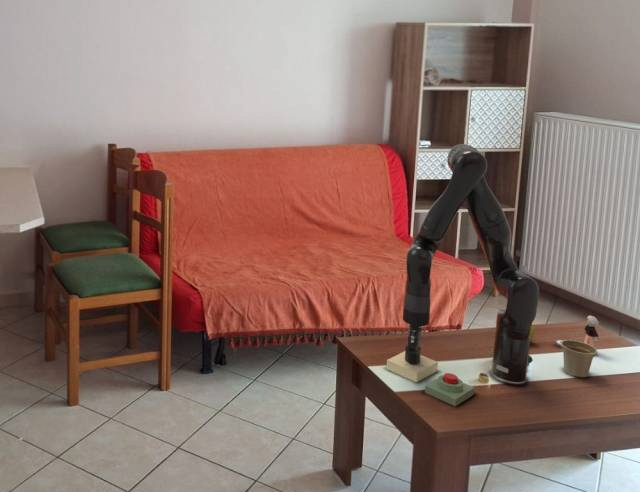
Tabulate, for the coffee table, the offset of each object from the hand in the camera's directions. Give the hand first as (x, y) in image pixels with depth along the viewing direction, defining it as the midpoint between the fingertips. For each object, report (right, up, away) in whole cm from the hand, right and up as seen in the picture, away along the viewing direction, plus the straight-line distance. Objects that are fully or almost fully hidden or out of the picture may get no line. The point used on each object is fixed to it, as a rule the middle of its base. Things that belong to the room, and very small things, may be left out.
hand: (413, 360), depth 211 cm
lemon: (+47, -2, +21) cm, 51 cm away
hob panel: (0, -3, 0) cm, 3 cm away
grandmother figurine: (+64, -3, +15) cm, 66 cm away
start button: (+5, -1, -13) cm, 14 cm away
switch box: (+5, -5, -13) cm, 15 cm away
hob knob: (0, 0, 0) cm, 0 cm away
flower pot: (+51, -5, +1) cm, 51 cm away
